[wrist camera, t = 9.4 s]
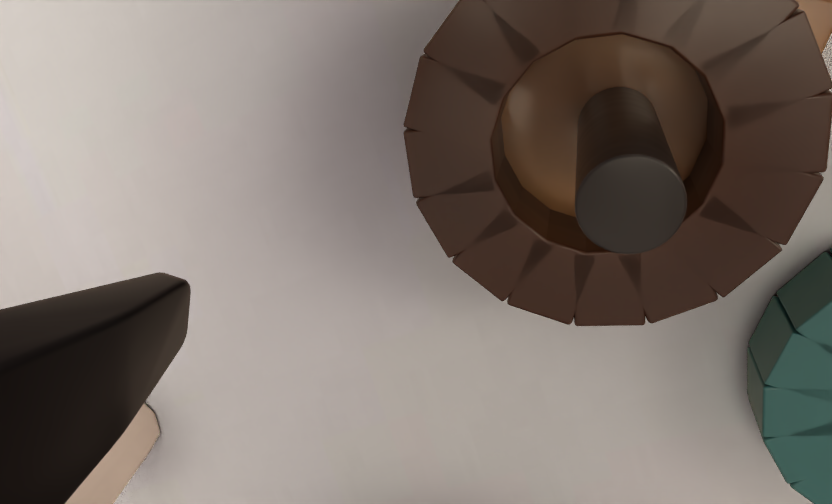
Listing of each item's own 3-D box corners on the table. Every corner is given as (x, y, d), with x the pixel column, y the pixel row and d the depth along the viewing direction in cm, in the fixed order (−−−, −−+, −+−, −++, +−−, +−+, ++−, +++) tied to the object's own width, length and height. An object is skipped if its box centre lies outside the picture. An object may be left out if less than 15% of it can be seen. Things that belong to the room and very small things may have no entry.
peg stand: (700, 271, 21) (755, 432, 14) (447, 201, 22) (386, 321, 15) (826, -3, 17) (980, 41, 10) (514, -74, 18) (473, -76, 11)
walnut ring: (701, 330, 20) (713, 374, 18) (390, 229, 21) (370, 260, 19) (884, -10, 15) (928, -1, 13) (478, -122, 16) (464, -129, 14)
